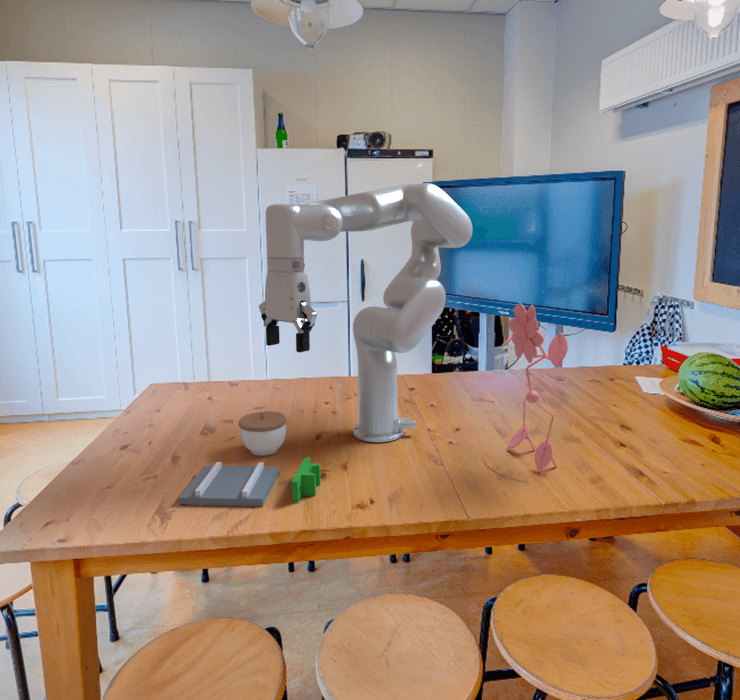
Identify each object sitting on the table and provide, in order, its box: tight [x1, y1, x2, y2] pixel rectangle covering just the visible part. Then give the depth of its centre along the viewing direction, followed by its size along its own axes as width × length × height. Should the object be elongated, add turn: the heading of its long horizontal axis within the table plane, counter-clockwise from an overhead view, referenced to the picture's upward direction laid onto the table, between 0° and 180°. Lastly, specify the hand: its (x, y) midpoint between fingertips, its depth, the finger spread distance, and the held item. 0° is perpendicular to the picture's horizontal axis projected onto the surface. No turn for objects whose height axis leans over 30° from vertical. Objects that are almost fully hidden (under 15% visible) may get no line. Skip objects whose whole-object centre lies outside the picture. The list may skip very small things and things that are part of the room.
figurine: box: [483, 302, 569, 483], centre depth 121 cm, size 15×26×35 cm, turn 13°
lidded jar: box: [238, 411, 287, 457], centre depth 132 cm, size 11×11×9 cm
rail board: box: [178, 461, 280, 507], centre depth 115 cm, size 16×14×3 cm
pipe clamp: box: [291, 456, 322, 503], centre depth 114 cm, size 11×4×5 cm, turn 173°
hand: (287, 347), depth 121 cm, fingers open, 9 cm apart
